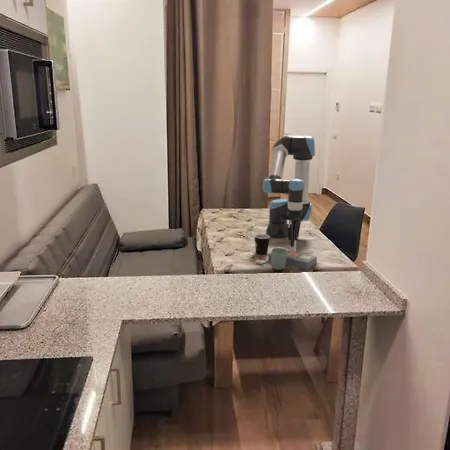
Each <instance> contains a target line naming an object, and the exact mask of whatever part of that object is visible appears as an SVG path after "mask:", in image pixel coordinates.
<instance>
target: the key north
mask: <svg viewBox="0 0 450 450" xmlns="http://www.w3.org/2000/svg"><path fill="white" fill-rule="evenodd" d="M312 258H313V257H311V256H306V255H302V256H300V257H299V258H298V259H302V260H307V261H309V260H310V259H312Z"/></svg>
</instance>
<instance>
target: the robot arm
mask: <svg viewBox="0 0 450 450" xmlns="http://www.w3.org/2000/svg"><path fill="white" fill-rule="evenodd" d="M315 143H316V142H315V137H313V136H309V135H285V136H283V137H281V138H280V139H278V140H277V141H276V142H275V143H274V144H273V146H272V150H271V154H272V159H271V162H270V167H269V173H268V178H264V179H263V180H262V191H263V193H268V194H283V195H285V194H286V195H288V198H277V199H273V200H271V201H270V202H269V212H268V215H269V216H268V217H269V218H268V225H267V227H266V230H265V235H268V236H270V238H275V239H285V238H287V239H288V241H289V251H290V252H297V241H298V240H299V236H300V230H301V224H302V222H308V221H309V220H310V219H311V213H312V208H313V203H312V202H311V200H310V199H309V184H310V183H309V181H310V163H311V161H312V160H313V158H314V157H315V156H316V144H315ZM288 156H292V158H293V160H294V161H295V164H294V165H295V166H294V178H292V179H283V177H284V175H283V173H284V169H285V163H286V159H287V157H288Z"/></svg>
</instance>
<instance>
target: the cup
mask: <svg viewBox="0 0 450 450" xmlns="http://www.w3.org/2000/svg"><path fill="white" fill-rule="evenodd" d="M283 248H284V247H281V248H277V247H275V248H272V249H271V251H270V253H271V267H272V269H275V270H277V271H283V270H284V269H285V267H286V266H287V265H286V260H287V250H288V249H287V248H285V249H283ZM286 249H287V250H286Z"/></svg>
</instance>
